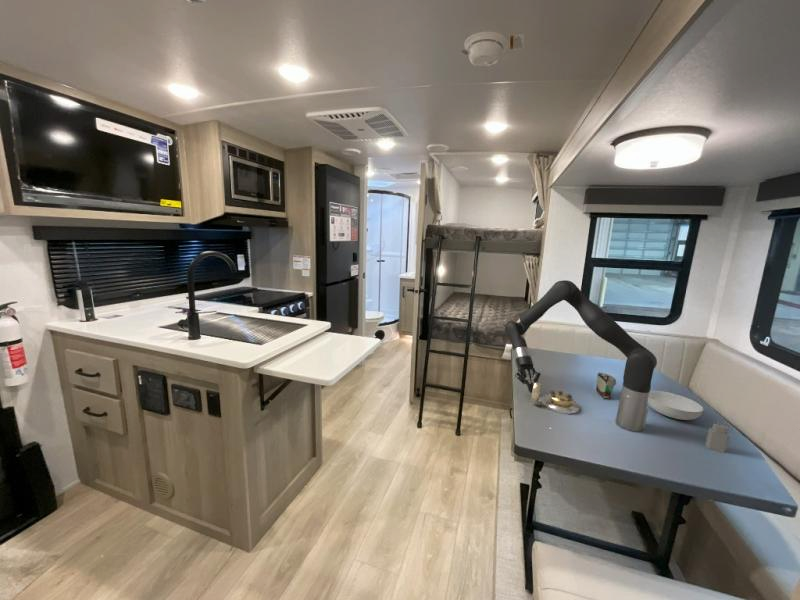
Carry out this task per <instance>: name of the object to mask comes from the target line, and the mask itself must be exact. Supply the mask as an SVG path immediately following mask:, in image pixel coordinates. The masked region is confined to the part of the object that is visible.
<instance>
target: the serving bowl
mask: <svg viewBox="0 0 800 600" xmlns="http://www.w3.org/2000/svg"><path fill="white" fill-rule="evenodd" d="M647 406H649V407H650V408H651V409H652V410H654V411H656V412H657V413H659V414H661V415H664V416H665V417H669V418H671V419H672V418H673V419H677V420H684V421H690V420H695V419H698V418H699V417H701V416H702V414H703V412H704V407H703V406H702V404H699V403H698V402H696V401H694V400H693V399H690V398H688V397H686V396H683V395H679V394H676V393H674V392H668V391H662V390H650V393H649V397H648V402H647Z"/></svg>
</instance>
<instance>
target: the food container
mask: <svg viewBox="0 0 800 600" xmlns="http://www.w3.org/2000/svg"><path fill="white" fill-rule="evenodd" d="M616 385H617V380H616V378H615V377H614V376H612V375H610V374H608V373H603V372H597V379H596V386H595V387H596V388H595V391H597V392H596V393H597V394H598V396H600V397H601V399H602V398H603V399H602V400H609V399H611V397H612V394H613V392H614V388H615V386H616Z"/></svg>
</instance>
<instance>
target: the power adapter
mask: <svg viewBox="0 0 800 600" xmlns="http://www.w3.org/2000/svg"><path fill="white" fill-rule="evenodd" d="M717 420H718V421H717V423H713V424H712V427H709V429H708V431H707V435H706V438H705V444H704V446H705V448H707V449H709V450H713V451H716V452H719V453H726V450H727V446H728V442H729V439H730V436H731V435H730V433H729V432H728V431H729V427H728V426H726V423H727V420H725V421H724V423H723V424H719V423H720V419H717Z"/></svg>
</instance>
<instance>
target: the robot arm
mask: <svg viewBox="0 0 800 600" xmlns="http://www.w3.org/2000/svg"><path fill="white" fill-rule="evenodd" d="M562 301H566V303H568V304H569V305H570V306H571V307H573V308H574V309H575V310H576V311H577V313H578V315H579V316H580V317H581V320H582V321H583V322H584V324H585V325H586V326H587V327H588V328H589V329H590V330H591V331H592V332H593V333H595V335H596V336H598V337H599V338H601V339H602V340H604V341H605V342H606V343H607V342H608V343H609V344H611V345H612V346H614V347H615V348H616V349H618V350H619V351H620V352H621V353H622V354H623V355H624V356H625V357H626V362H625V367H624V370H623V371H624V372H623V375H622V377H623V379H622V380H623V381H622V386H621V387H622V388H621V392H620V398H619V402H618V406H617V411H616V416H615V424H616V425H617V426H618V427H620V428H622V429H624V430H627V431H630V432H641V431H644V430H645V426H646V421H647V419H648V418H647V417H648V413H649V408H648V407H647V406H648V403H647V402H648V397H649V393H650V391H651V386H652V380H653V379H652V378H653V375H654V371H655V368H656V367H657V365H658V360H657V358H656V356H655V354H654V353H653V352H651V351H650V350H649V349H648V348H647V347H645V346H643V345H642V344H641V343H639V342H638V341H637V340H635V339H634V338H633V337H632V336H631V335H630V334H629V333H628V332H627V331H626V330H625V329H624V328H623V327H622V326H621V325H619V323H618V322H616V321H615V320H614V319H613V317H611V316H610V315H609V314H608V313H606V311H604V310H603V309H602V308H600V307H599V306H598V305H597V304H595V302H593V301H591V300H590V299H589V298H588V297H587V296H586V295H585V294H584V293H583V291H582V290H581V289H580V288H579V287H578V286H577V285H576V284H575V282H573V281H570V280H568V279H567V280H566V279H565V280H559V281H556V282H555V283H553V285H552V286H551V287H550V288H549V290H547V292H546V293H545V294H544V295H543V296H541V298H540V299H539V300H537V302H535V303H534V304H533V305H531V306H530V307H529V308H528V309H527V310H525V311H524V312H523V313H521V314H520V315H519V322H517V321H514V320H510V321H509V320H508V321H507V322H506V323H505V324H504V332H505V335H506V337H507V338H508V341H509V342H510V343H511V347H512V350H513V356H514V360H515V364H516V367H517V372H516V373H515V374H514V377H516V379H518V381H520V382H521V383H522V385H526V386H527V390H528V392H529V393H530V394H532V389H533V383H534V382H538V381H539V380H540V378H541V372H537V371H536V369H535V367H534V363H533V359H532V356H531V352H530V350H529V348H528V345H527V341H526V339H525V338H524V337H522V336H523V335H524V334H526V333H527V331H528V330H529V328H530V327H531V326H532V325H533V324H534V323H536V322H537V321H538V320H540V319H541V318H542V317H543V316H544V315H545V314H546V313H547V312H548V310H550V309H551V308H552V307H554V306H555V305H557V304H558V303H559V304H560V303H561V302H562Z"/></svg>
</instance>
